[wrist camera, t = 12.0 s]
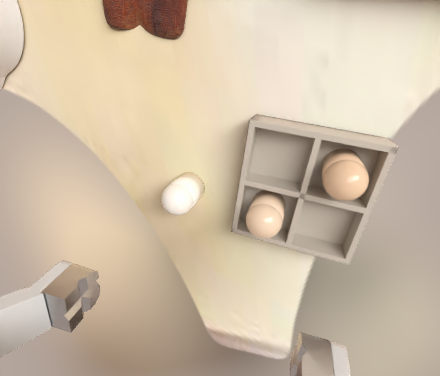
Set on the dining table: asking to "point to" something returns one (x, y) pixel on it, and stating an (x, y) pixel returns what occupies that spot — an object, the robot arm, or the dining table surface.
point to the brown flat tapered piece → (147, 15)
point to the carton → (309, 184)
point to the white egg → (182, 194)
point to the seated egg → (266, 214)
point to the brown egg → (344, 174)
